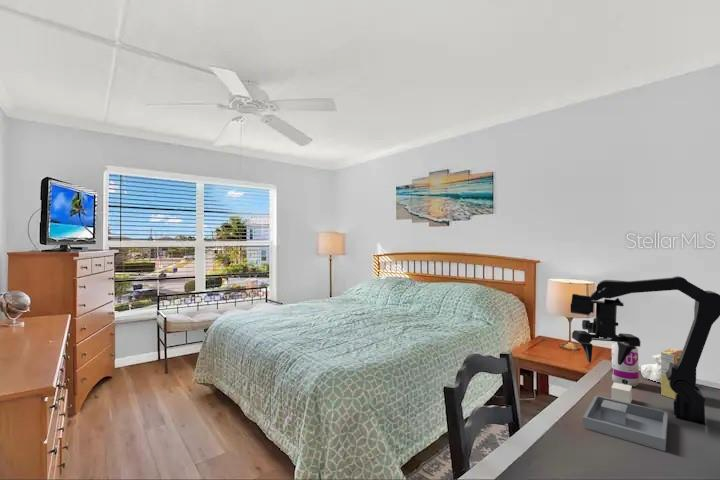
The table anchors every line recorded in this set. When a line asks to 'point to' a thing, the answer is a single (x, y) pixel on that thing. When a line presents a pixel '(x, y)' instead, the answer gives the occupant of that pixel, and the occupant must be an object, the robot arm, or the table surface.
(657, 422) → the tray
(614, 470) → the table surface
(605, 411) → the steel block
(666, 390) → the candy box
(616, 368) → the supplement can
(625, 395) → the cream box
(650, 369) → the duck figurine
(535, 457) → the table surface
